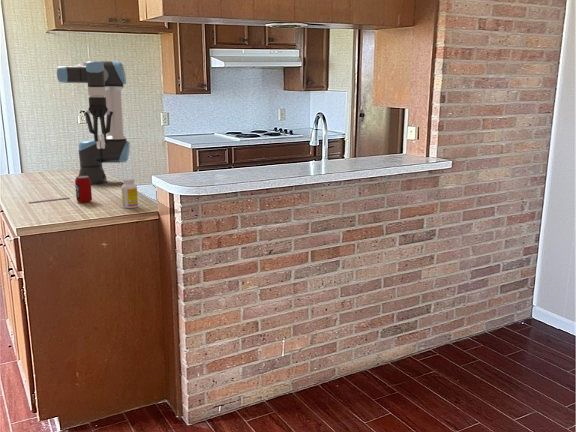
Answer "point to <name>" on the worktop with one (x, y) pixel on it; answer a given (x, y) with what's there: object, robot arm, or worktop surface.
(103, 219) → the worktop surface
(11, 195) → the worktop surface
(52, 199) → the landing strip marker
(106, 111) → the robot arm
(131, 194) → the supplement bottle
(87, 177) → the beverage can
